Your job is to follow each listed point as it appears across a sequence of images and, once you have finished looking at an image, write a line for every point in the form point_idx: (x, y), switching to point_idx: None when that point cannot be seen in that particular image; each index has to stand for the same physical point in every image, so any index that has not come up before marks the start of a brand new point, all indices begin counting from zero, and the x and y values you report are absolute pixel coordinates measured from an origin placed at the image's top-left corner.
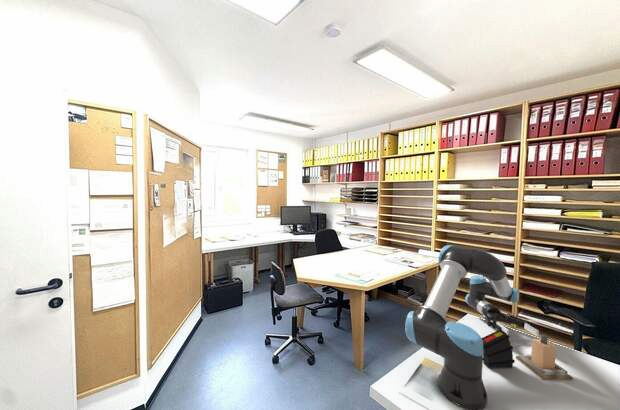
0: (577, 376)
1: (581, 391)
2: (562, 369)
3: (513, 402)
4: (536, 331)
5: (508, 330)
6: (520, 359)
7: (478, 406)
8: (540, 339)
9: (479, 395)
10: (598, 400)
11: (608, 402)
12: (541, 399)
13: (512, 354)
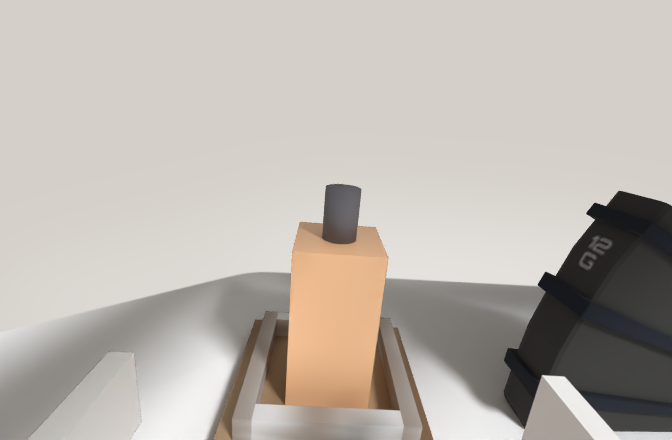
0: (199, 342)
1: None
2: (273, 320)
3: None
4: (131, 373)
5: (546, 379)
6: (428, 430)
7: None
8: (325, 252)
9: None
10: (282, 279)
11: (260, 274)
12: (460, 290)
13: (529, 322)
